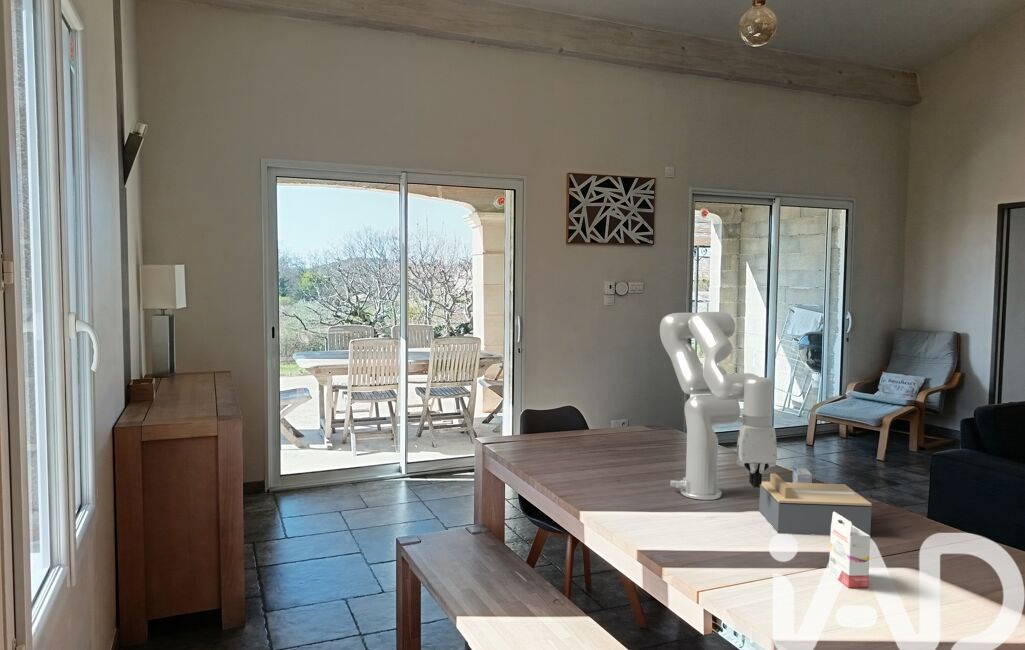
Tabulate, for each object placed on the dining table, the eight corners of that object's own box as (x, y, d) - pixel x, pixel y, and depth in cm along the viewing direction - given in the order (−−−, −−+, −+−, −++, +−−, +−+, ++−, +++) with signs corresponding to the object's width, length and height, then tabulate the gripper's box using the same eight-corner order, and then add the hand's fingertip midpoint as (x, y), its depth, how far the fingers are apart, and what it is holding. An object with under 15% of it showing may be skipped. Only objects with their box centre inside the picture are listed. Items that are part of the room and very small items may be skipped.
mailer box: (777, 533, 189) (778, 503, 189) (759, 511, 207) (760, 484, 207) (870, 536, 188) (871, 507, 187) (843, 514, 206) (844, 487, 205)
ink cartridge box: (869, 588, 156) (872, 522, 155) (848, 588, 155) (851, 523, 155) (848, 572, 164) (850, 510, 163) (827, 572, 164) (830, 510, 163)
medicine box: (811, 502, 217) (812, 474, 216) (796, 501, 218) (797, 473, 217) (806, 494, 224) (807, 468, 224) (791, 493, 225) (792, 467, 225)
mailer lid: (778, 502, 189) (779, 489, 189) (760, 483, 207) (760, 471, 206) (871, 505, 187) (872, 492, 187) (844, 486, 205) (845, 474, 205)
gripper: (733, 423, 193) (731, 489, 194) (788, 424, 192) (786, 491, 193) (726, 418, 201) (725, 482, 202) (780, 419, 200) (778, 483, 201)
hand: (755, 486), depth 198 cm, fingers closed
